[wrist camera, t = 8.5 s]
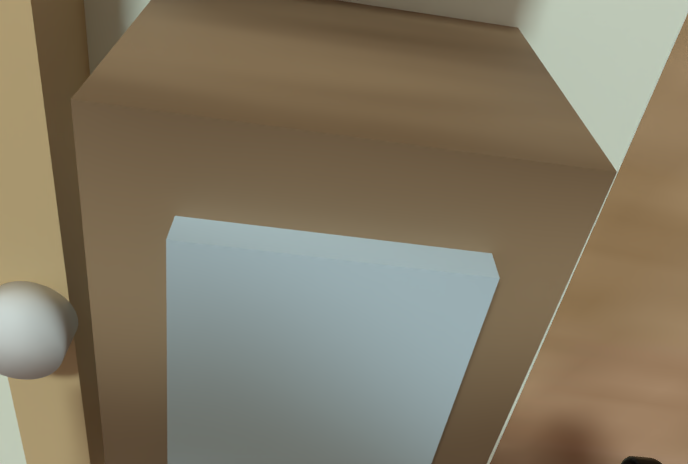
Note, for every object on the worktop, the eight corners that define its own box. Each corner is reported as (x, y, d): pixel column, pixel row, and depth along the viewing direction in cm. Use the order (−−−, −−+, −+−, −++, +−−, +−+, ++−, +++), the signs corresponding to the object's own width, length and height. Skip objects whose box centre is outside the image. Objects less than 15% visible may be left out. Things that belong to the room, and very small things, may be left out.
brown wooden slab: (389, 451, 15) (405, 674, 12) (171, 431, 15) (114, 657, 11) (518, 27, 10) (632, 194, 6) (171, -26, 9) (53, 118, 5)
